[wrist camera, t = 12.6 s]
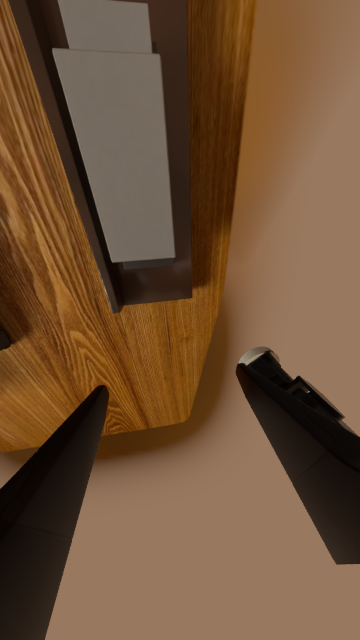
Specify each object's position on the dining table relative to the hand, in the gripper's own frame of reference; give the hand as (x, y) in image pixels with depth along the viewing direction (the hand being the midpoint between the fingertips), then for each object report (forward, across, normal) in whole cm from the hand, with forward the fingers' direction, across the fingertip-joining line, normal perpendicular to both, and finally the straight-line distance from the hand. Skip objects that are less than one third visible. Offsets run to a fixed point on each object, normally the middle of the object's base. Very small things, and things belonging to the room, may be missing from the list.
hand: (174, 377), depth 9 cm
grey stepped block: (+9, +1, -12) cm, 15 cm away
